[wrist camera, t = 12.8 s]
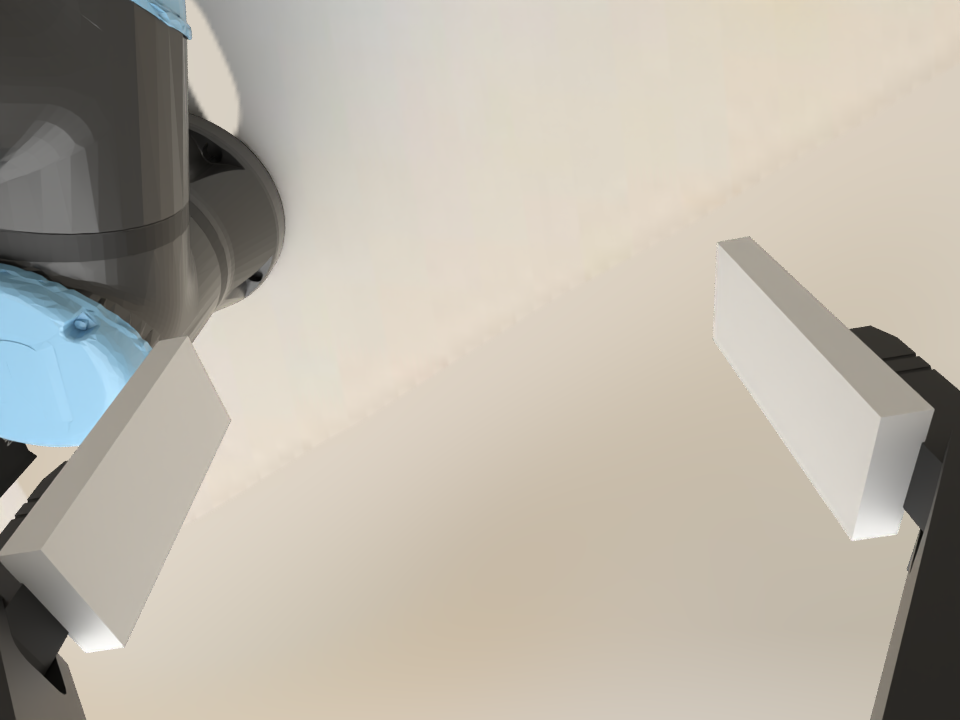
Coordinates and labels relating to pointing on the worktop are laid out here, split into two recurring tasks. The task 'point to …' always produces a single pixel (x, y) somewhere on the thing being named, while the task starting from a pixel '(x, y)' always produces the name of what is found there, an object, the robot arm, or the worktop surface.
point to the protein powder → (12, 462)
